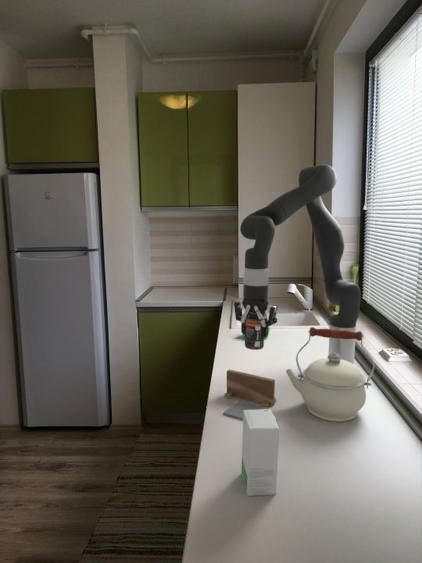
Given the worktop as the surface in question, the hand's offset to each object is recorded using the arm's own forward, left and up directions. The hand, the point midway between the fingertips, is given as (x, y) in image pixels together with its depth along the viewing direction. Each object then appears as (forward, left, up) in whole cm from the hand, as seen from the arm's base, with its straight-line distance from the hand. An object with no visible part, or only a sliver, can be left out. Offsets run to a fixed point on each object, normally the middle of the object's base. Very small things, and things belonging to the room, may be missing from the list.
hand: (254, 336), depth 131 cm
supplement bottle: (0, 0, -4) cm, 4 cm away
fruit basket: (-57, -27, -21) cm, 67 cm away
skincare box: (+38, +21, -20) cm, 48 cm away
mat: (+10, +3, -20) cm, 23 cm away
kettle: (-4, +22, -20) cm, 30 cm away
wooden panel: (+2, 0, -20) cm, 20 cm away
